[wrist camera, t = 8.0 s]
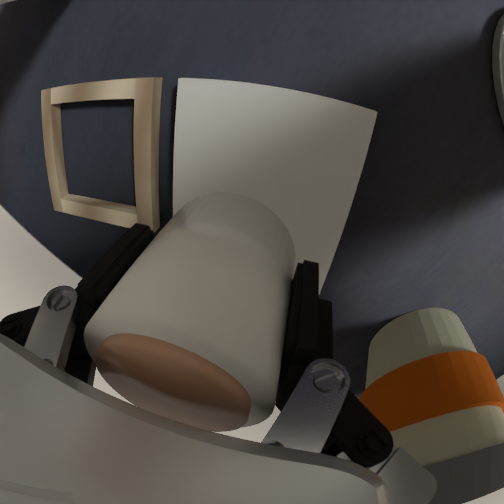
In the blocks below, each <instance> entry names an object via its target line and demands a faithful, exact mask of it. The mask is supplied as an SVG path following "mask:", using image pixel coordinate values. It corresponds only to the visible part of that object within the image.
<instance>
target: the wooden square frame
mask: <svg viewBox="0 0 504 504" xmlns="http://www.w3.org/2000/svg"><path fill="white" fill-rule="evenodd" d="M161 90H162V78H130V79H115V80H103V81H94V82H86V83H78V84H72V85H65V86H60V87H54V88H49V89H45V90H41V101H42V125H43V138H44V148H45V157H46V165H47V172H48V179H49V185H50V190H51V196H52V201H53V206H54V210H56V211H60V212H64V213H68V214H72V215H76V216H80V217H85V218H89V219H93V220H97V221H101V222H105V223H110V224H114V225H118V226H122V227H126V228H131V227H132V226H133V225H134V224H135V223H139V224H144V225H148V226H150V228H151V230H153V232H154V233H155V231H156V230H157V229H158V228H159V227H160V216H159V126H160V105H161ZM106 99H134V177H135V196H136V206H131V205H126V204H120V203H115V202H110V201H105V200H100V199H95V198H89V197H84V196H79V195H73V194H69V193H68V186H67V179H66V172H65V164H64V154H63V143H62V129H61V103H67V102H77V101H89V100H106Z"/></svg>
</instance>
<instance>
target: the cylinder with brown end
mask: <svg viewBox="0 0 504 504" xmlns="http://www.w3.org/2000/svg"><path fill="white" fill-rule="evenodd" d="M294 265H295V248H294V243H293V240H292V237H291V235H290V233H289V231H288V229H287V227H286V226H285V224H284V223H283V222H282V220H281V219H280V218H279V217H278V216H277V215H276V214H275V213H274V212H273V211H272V210H271V209H269V208H268V207H266V206H265V205H264V204H262V203H260V202H258V201H256V200H255V199H252V198H250V197H247V196H244V195H240V194H236V193H229V192H215V193H208V194H205V195H201V196H198V197H196V198H194V199H192V200H191V201H189V202H187V203H186V204H185V205H184V206H183V207H182V208H181V209H180V210H179V211H178V212H177V213H176V214H175V215H174V216H173V217H172V219H171V220H170V221H169V222H168V223H167V224H166V225H165V227H164V228H163V229H162V230H161V231H160V232H159V233H158V235H157V236H156V237H155V238H154V239H153V240H152V242H151V243H150V244H149V245H148V246H147V248H146V249H145V250H144V251H143V252H142V254H141V255H140V256H139V257H138V258H137V260H136V261H135V262H134V263H133V265H132V266H131V267H130V268H129V269H128V271H127V272H126V273H125V274H124V276H123V277H122V278H121V280H120V281H119V282H118V283H117V285H116V286H115V287H114V289H113V290H112V291H111V292H110V294H109V295H108V296H107V298H106V299H105V300H104V302H103V303H102V304H101V306H100V307H99V308H98V310H97V311H96V313H95V314H94V315H93V317H92V318H91V319H90V321H89V322H88V324H87V325H86V327H85V330H84V342H85V346H86V348H87V351H88V353H89V355H90V356H91V358H92V360H93V361H94V363H95V364H96V367H97V369H98V371H99V372H100V374H101V376H102V377H103V378H104V379H105V381H106V382H107V383H108V384H109V385H110V386H111V387H112V388H113V389H114V390H115V391H117V392H118V393H119V394H120V395H121V396H123V397H124V398H125V399H126V400H128V401H129V402H131V403H132V404H134V405H135V406H137V407H139V408H142V409H144V410H147V411H150V412H152V413H155V414H158V415H160V416H163V417H166V418H169V419H172V420H175V421H178V422H181V423H184V424H187V425H190V426H194V427H197V428H201V429H204V430H208V431H213V432H221V431H231V430H235V429H238V428H240V427H247V426H251V425H255V424H258V423H260V422H262V421H264V420H266V419H267V418H268V417H269V416H270V415H271V414H272V412H273V410H274V406H275V401H276V395H277V389H278V383H279V376H280V370H281V361H282V354H283V348H284V341H285V334H286V327H287V319H288V312H289V304H290V296H291V288H292V280H293V274H294Z"/></svg>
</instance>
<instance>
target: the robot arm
mask: <svg viewBox="0 0 504 504" xmlns="http://www.w3.org/2000/svg"><path fill="white" fill-rule="evenodd" d="M492 70H493V78H494V88H495V93H496V98H497V103H498V108H499V112H500V115H501V119H502V122H503V126H504V14H503V15H502V17H501V18H500V19H499V21H498V24H497V27H496V30H495V33H494V40H493V47H492ZM153 239H154V232H153V230H151V228H150V226H148V225H144V224H139V223H135V224H134V225H133V226H132V227H131V228H130V229H129V230H128V231H127V232H126V233H125V234H124V235H123V236H122V237H121V238H120V239H119V240H118V241H117V242H116V243H115V244H114V245H113V246H112V247H111V248H110V249H109V250H108V251H107V253H106V254H105V255H104V256H103V257H102V258H101V259H100V260H99V261H98V262H97V263H96V264H95V265H94V266H93V268H92V269H91V270H90V271H89V272H88V273H87V274H86V275H85V276H84V278H83V279H82V280H81V281H80V282H79V283H78V286H77V288H76V289H75V290H74V289H73V288H72V287H70V286H59V287H56V288H54V289H52V290H50V291H49V292H48V293H47V294H46V296H45V297H44V299H43V302H42V304H41V306H38V307H34V308H31V309H27V310H24V311H20V312H17V313H14V314H10V315H8V316H6V317H5V318H3V319H2V321H1V322H0V504H429V502H430V501H431V499H432V498H433V496H434V494H435V492H436V489H437V482H436V479H435V477H434V476H433V475H432V474H431V473H430V472H429V471H428V470H427V469H425V468H424V467H423V466H422V465H421V464H420V463H418V462H417V461H416V460H415V459H414V458H413V457H411V456H410V455H409V454H408V453H407V452H406V451H405V450H403V449H402V448H401V447H399V448H397V447H396V446H394V445H393V438H392V435H391V433H390V432H389V430H388V429H387V428H386V427H385V426H384V425H383V424H382V423H381V422H380V421H379V420H378V419H377V418H376V417H375V416H374V415H373V414H372V413H371V412H370V411H369V410H368V409H367V408H366V407H365V406H364V405H363V404H362V403H361V402H360V401H359V400H358V399H357V398H356V397H355V396H354V394H353V393H352V392H351V391H350V390H349V386H350V375H349V373H348V371H347V369H346V368H345V367H344V366H343V365H342V364H340V363H339V362H337V361H335V360H333V333H332V303H331V301H327V300H322V299H319V263H316V262H312V261H307V260H304V262H303V263H298V264H297V267H296V270H295V274H294V277H293V280H292V288H291V296H290V304H289V312H288V319H287V327H286V334H285V341H284V348H283V354H282V361H281V370H280V376H279V383H278V389H277V395H276V403H275V405H276V406H277V408H278V409H279V410H280V411H281V413H280V414H279V416H278V418H277V419H276V421H275V423H274V424H273V425H272V427H271V429H270V430H269V432H268V433H267V435H266V436H265V438H264V439H263V441H262V442H261V443H258V442H253V441H249V440H243V439H240V438H235V437H230V436H227V435H223V434H219V433H215V432H211V431H208V430H204V429H201V428H197V427H194V426H190V425H187V424H184V423H181V422H178V421H175V420H172V419H169V418H166V417H163V416H160V415H158V414H155V413H152V412H150V411H147V410H144V409H142V408H139V407H137V406H134V405H132V404H129V403H127V402H125V401H122V400H120V399H118V398H116V397H113V396H111V395H109V394H107V393H105V392H103V391H101V390H98V389H96V388H94V387H93V382H94V376H95V370H96V364H95V363H94V361H93V360H92V358H91V356H90V355H89V353H88V351H87V348H86V346H85V342H84V330H85V327H86V325H87V324H88V322H89V321H90V319H91V318H92V317H93V315H94V314H95V313H96V311H97V310H98V308H99V307H100V306H101V304H102V303H103V302H104V300H105V299H106V298H107V296H108V295H109V294H110V292H111V291H112V290H113V289H114V287H115V286H116V285H117V283H118V282H119V281H120V280H121V278H122V277H123V276H124V274H125V273H126V272H127V271H128V269H129V268H130V267H131V266H132V265H133V263H134V262H135V261H136V260H137V258H138V257H139V256H140V255H141V254H142V252H143V251H144V250H145V249H146V248H147V246H148V245H149V244H150V243H151V242H152V240H153Z"/></svg>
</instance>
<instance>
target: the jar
mask: <svg viewBox="0 0 504 504" xmlns="http://www.w3.org/2000/svg"><path fill="white" fill-rule="evenodd" d="M11 1H15V0H0V4H2V3H6V2H11Z"/></svg>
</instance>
